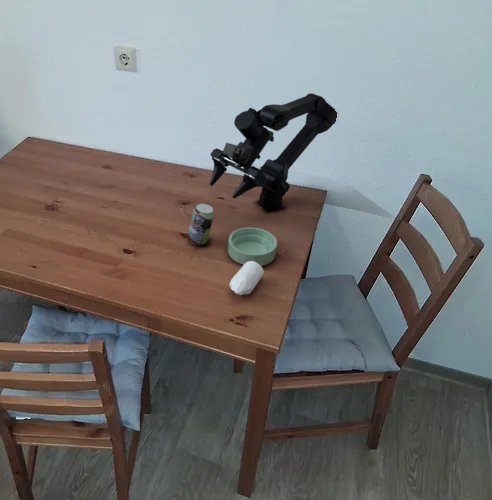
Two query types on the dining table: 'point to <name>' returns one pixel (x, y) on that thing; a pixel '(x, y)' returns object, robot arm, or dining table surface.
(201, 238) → the beverage can
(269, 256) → the bowl
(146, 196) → the dining table surface
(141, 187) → the dining table surface
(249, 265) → the roll
